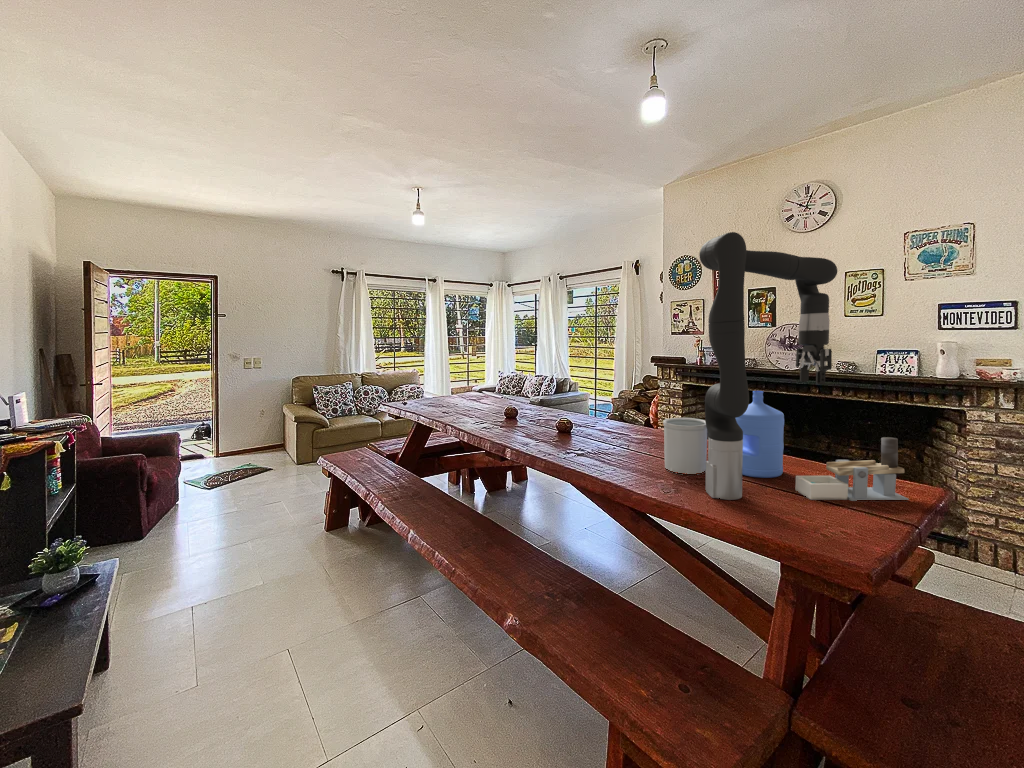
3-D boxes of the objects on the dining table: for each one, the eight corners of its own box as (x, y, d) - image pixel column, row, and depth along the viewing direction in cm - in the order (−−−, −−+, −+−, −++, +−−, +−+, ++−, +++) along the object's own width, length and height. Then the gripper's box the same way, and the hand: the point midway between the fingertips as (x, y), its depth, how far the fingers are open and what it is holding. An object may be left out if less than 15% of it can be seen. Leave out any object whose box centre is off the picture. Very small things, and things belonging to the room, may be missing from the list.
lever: (839, 475, 125) (839, 443, 124) (826, 469, 131) (825, 438, 130) (904, 473, 123) (904, 440, 122) (888, 466, 129) (888, 435, 128)
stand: (850, 500, 123) (852, 468, 122) (829, 489, 133) (830, 459, 132) (908, 500, 122) (910, 468, 121) (883, 489, 131) (884, 459, 131)
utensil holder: (715, 475, 150) (715, 424, 148) (671, 476, 150) (671, 425, 149) (697, 463, 165) (698, 417, 163) (657, 464, 165) (657, 418, 163)
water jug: (769, 465, 159) (771, 388, 156) (792, 478, 144) (794, 393, 141) (724, 465, 161) (725, 389, 158) (742, 478, 145) (743, 394, 143)
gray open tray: (810, 499, 125) (811, 484, 125) (795, 490, 133) (795, 475, 133) (847, 499, 124) (848, 484, 124) (829, 490, 132) (830, 475, 132)
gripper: (788, 330, 139) (786, 381, 141) (814, 329, 125) (812, 385, 127) (813, 329, 138) (811, 380, 140) (842, 328, 124) (840, 385, 126)
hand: (812, 382), depth 133 cm, fingers open, 8 cm apart
